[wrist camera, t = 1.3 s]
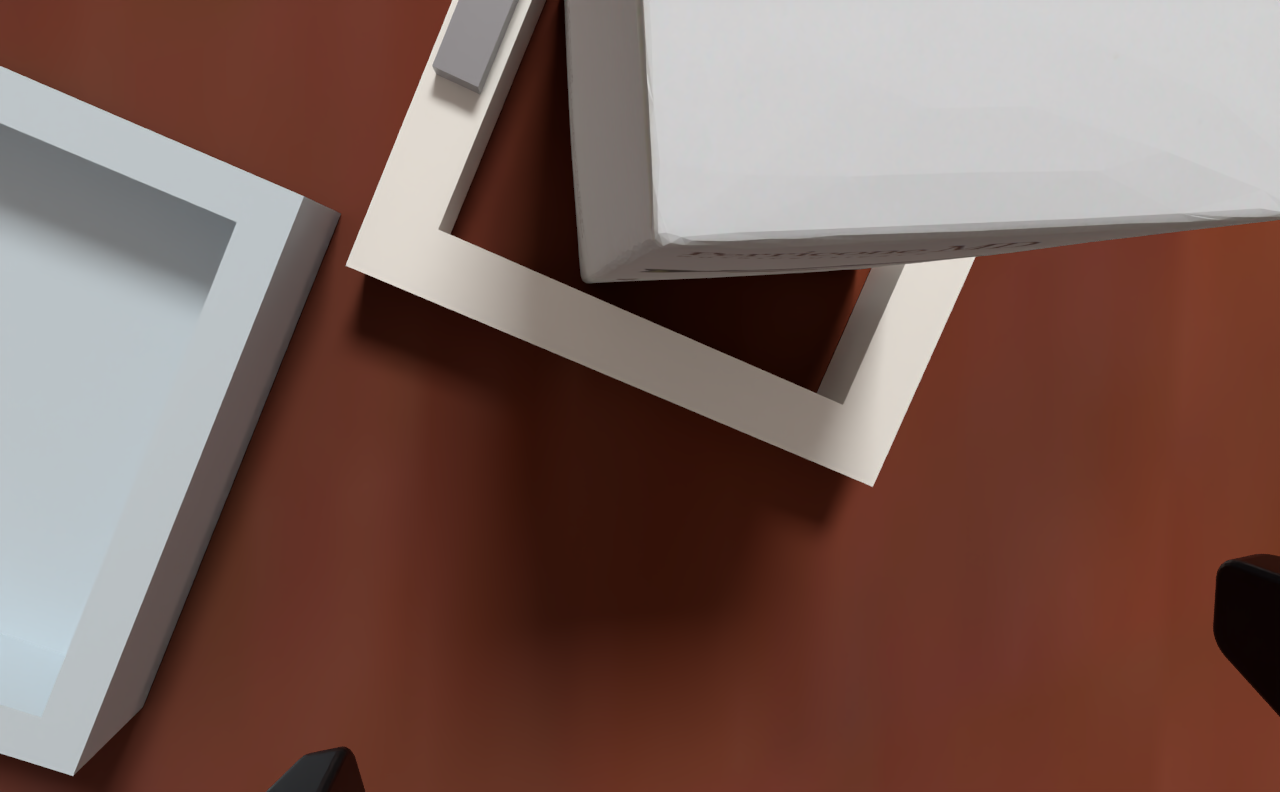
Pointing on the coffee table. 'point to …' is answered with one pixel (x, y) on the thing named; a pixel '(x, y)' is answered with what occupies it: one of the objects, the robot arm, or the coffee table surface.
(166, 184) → the tray
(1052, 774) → the coffee table surface
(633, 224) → the supplement box
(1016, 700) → the coffee table surface
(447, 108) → the frame
